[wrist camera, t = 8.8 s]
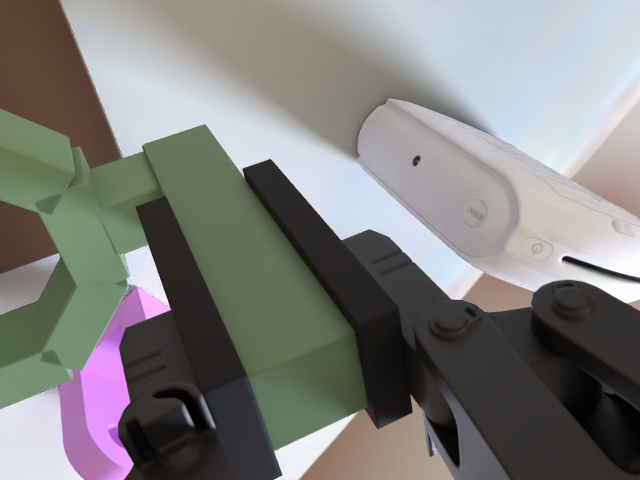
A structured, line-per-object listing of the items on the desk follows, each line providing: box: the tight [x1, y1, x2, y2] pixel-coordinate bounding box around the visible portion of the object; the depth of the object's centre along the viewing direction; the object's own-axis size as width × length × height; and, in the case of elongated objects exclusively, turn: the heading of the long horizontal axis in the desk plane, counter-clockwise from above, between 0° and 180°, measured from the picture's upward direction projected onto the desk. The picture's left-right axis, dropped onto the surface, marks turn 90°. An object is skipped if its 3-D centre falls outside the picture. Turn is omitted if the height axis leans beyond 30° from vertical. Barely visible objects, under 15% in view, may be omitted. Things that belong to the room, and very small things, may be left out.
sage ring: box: [0, 109, 369, 451], centre depth 14 cm, size 12×8×10 cm
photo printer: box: [358, 99, 640, 303], centre depth 28 cm, size 10×4×12 cm, turn 63°
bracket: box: [59, 287, 171, 480], centre depth 31 cm, size 13×6×7 cm, turn 38°
